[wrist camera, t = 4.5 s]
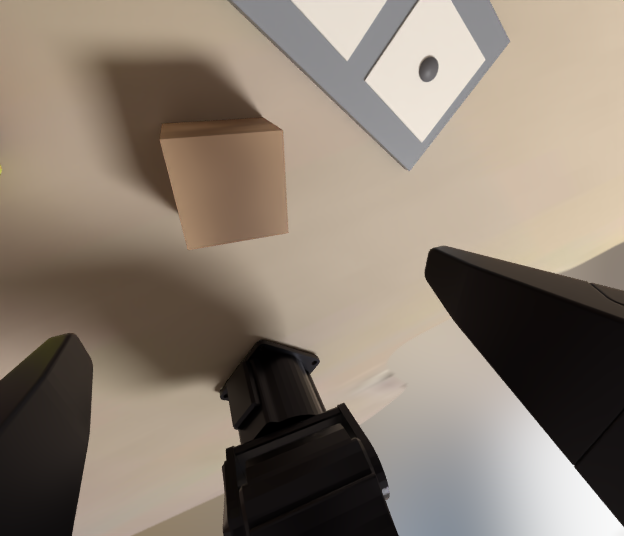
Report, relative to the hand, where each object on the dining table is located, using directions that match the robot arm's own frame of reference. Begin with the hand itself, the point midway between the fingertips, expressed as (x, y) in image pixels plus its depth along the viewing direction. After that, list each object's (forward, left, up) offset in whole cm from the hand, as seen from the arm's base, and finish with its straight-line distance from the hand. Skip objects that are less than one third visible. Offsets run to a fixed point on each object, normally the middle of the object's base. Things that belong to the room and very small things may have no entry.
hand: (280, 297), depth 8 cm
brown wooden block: (0, 0, -12) cm, 12 cm away
